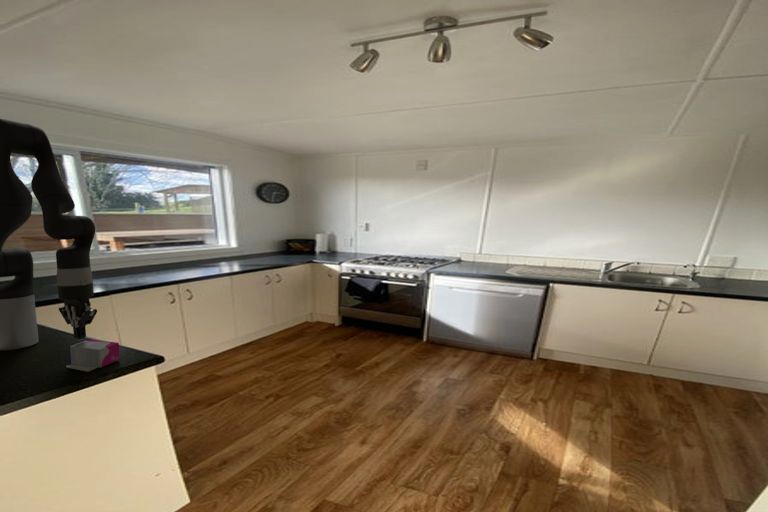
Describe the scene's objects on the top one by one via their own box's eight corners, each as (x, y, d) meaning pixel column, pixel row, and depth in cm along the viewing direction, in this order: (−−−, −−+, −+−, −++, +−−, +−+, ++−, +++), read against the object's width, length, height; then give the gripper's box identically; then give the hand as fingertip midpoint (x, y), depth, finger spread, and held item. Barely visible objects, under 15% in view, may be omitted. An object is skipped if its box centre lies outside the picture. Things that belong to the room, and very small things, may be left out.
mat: (66, 367, 91) (65, 366, 90) (97, 356, 98) (97, 355, 98) (87, 371, 88) (87, 370, 88) (118, 359, 96) (118, 359, 96)
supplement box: (69, 364, 92) (100, 368, 90) (67, 345, 91) (98, 348, 89) (91, 356, 98) (120, 359, 95) (89, 338, 97) (119, 341, 95)
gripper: (43, 283, 90) (49, 339, 92) (75, 286, 86) (80, 345, 88) (75, 278, 97) (79, 331, 99) (105, 281, 94) (109, 336, 96)
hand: (80, 338), depth 94 cm, fingers closed
